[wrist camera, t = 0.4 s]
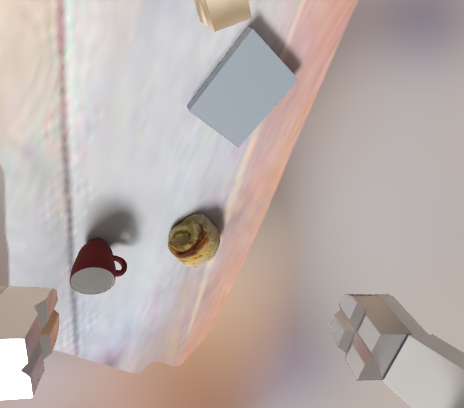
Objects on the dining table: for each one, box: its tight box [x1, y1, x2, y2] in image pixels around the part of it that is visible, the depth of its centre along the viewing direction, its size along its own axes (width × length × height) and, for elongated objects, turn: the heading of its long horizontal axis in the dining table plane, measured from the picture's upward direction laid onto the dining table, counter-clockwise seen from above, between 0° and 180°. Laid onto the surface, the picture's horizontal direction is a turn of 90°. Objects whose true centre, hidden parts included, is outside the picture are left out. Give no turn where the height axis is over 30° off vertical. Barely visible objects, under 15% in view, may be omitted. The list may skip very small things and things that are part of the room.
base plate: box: [187, 26, 299, 148], centre depth 53 cm, size 16×12×3 cm
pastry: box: [168, 213, 220, 267], centre depth 69 cm, size 14×12×8 cm
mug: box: [70, 239, 127, 294], centre depth 63 cm, size 10×8×10 cm
